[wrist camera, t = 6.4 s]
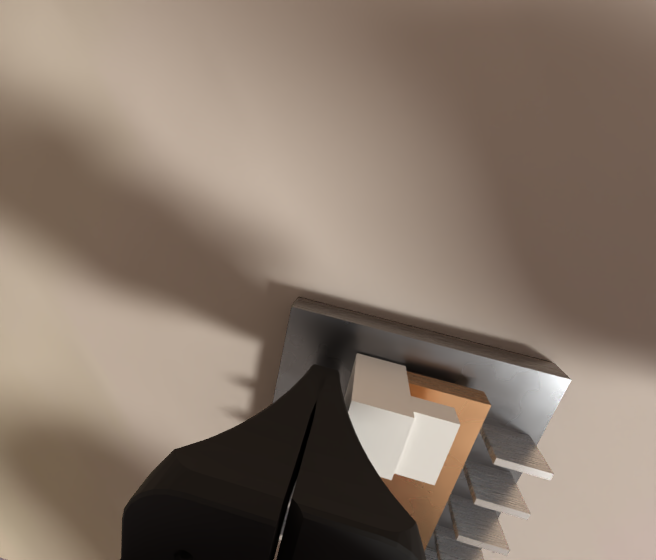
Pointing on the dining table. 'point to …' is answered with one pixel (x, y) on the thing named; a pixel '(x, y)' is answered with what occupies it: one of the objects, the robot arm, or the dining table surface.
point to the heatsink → (458, 368)
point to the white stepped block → (398, 422)
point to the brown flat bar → (431, 499)
